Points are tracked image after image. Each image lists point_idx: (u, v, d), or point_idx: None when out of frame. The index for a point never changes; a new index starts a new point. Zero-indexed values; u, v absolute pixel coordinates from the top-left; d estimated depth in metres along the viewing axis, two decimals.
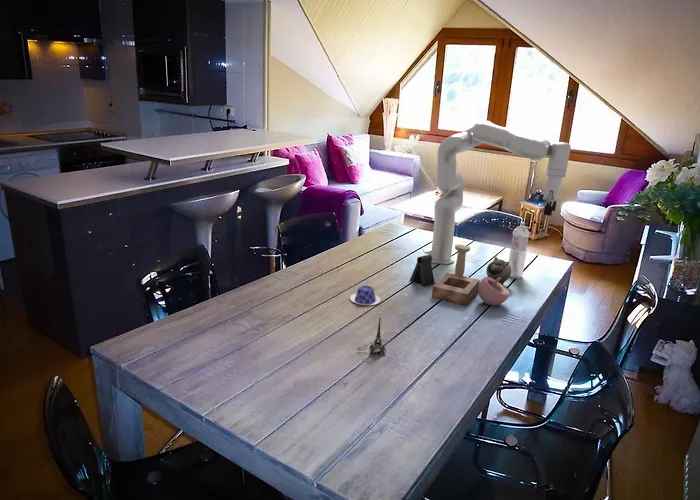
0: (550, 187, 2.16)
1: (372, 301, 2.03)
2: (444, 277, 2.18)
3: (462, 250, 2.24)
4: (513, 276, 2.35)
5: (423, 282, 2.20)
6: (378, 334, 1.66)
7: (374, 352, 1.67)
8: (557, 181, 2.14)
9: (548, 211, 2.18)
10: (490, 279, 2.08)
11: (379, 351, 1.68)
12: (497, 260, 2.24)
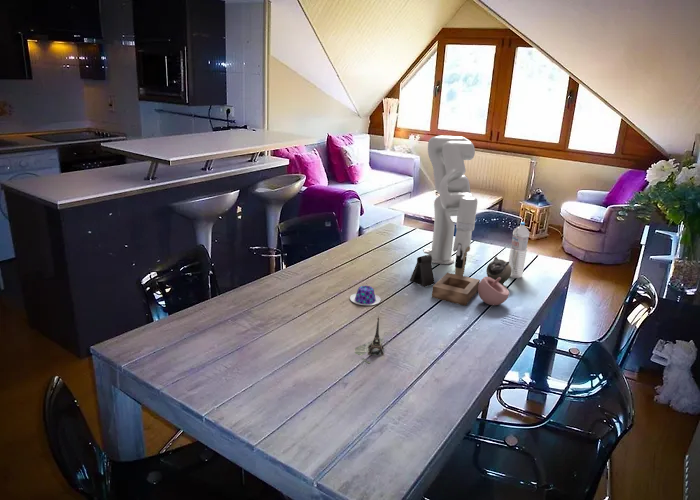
0: (458, 240, 2.21)
1: (372, 301, 2.03)
2: (444, 277, 2.18)
3: None
4: (513, 276, 2.35)
5: (423, 282, 2.20)
6: (377, 334, 1.66)
7: (373, 352, 1.67)
8: (465, 235, 2.19)
9: (459, 264, 2.25)
10: (490, 279, 2.08)
11: (378, 350, 1.68)
12: (497, 260, 2.24)
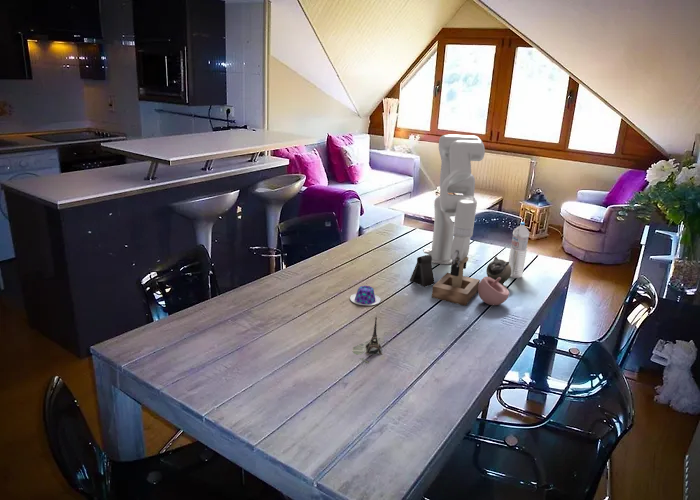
0: (456, 247, 2.04)
1: (374, 300, 2.03)
2: (444, 277, 2.18)
3: None
4: (513, 276, 2.35)
5: (423, 282, 2.20)
6: (374, 333, 1.66)
7: (370, 351, 1.68)
8: (462, 241, 2.03)
9: (454, 272, 2.06)
10: (490, 279, 2.08)
11: (375, 350, 1.69)
12: (497, 260, 2.24)
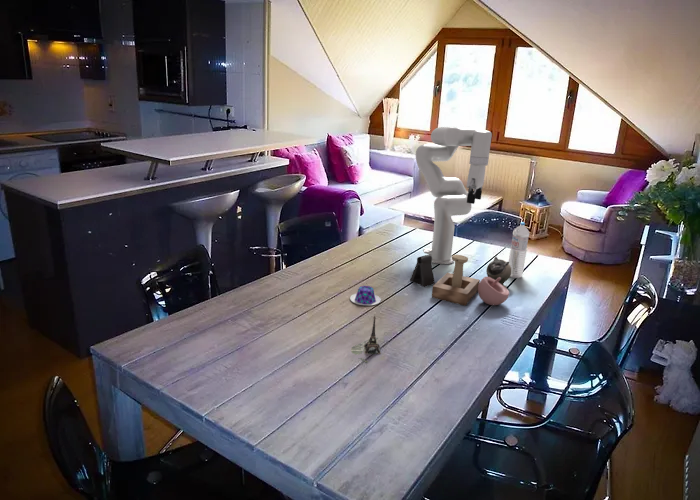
0: (472, 175, 2.16)
1: (374, 300, 2.04)
2: (444, 277, 2.18)
3: (459, 261, 2.08)
4: (513, 276, 2.35)
5: (423, 282, 2.20)
6: (373, 332, 1.66)
7: (369, 350, 1.68)
8: (479, 169, 2.14)
9: (471, 199, 2.18)
10: (490, 279, 2.08)
11: (374, 349, 1.69)
12: (497, 260, 2.24)
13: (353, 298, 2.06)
